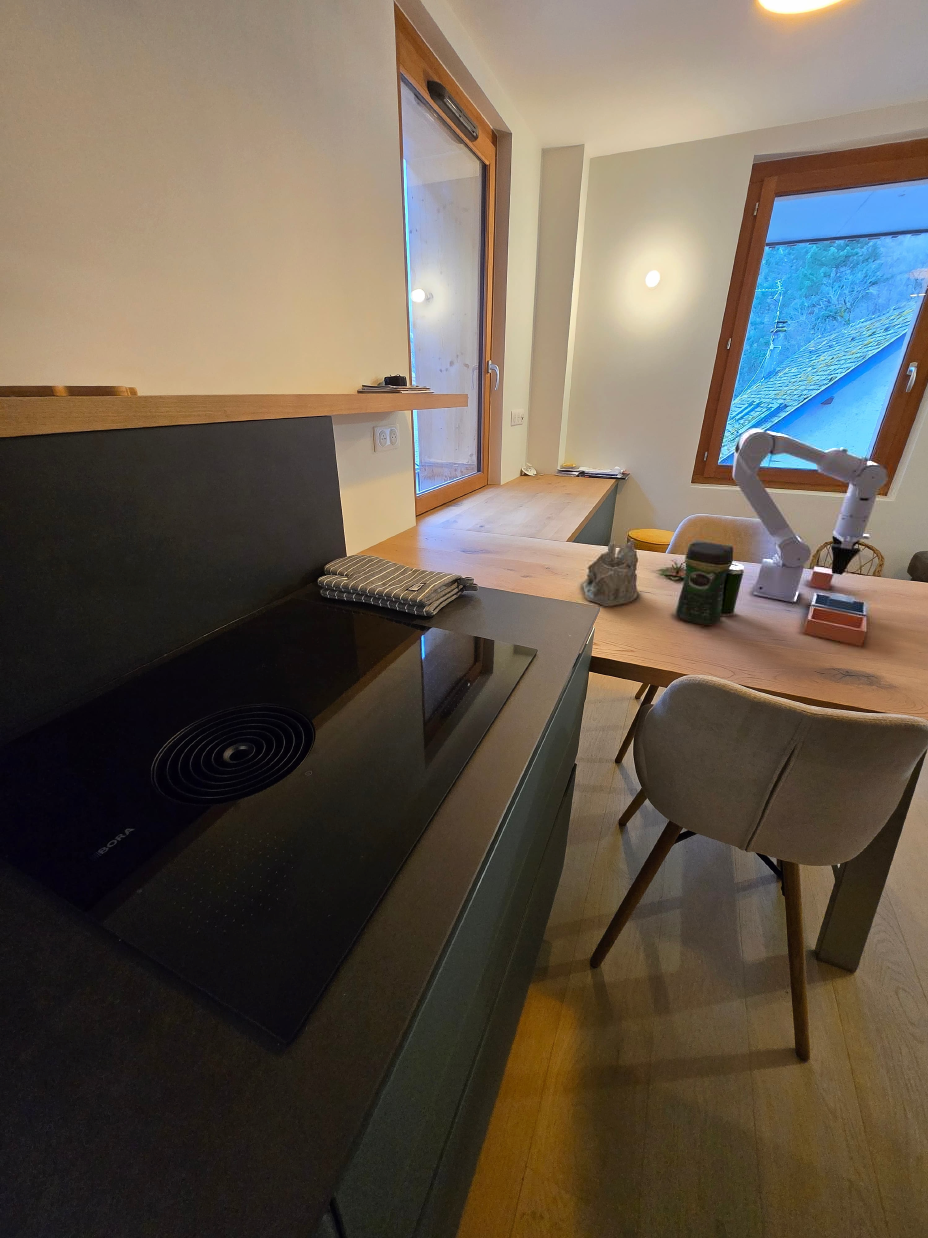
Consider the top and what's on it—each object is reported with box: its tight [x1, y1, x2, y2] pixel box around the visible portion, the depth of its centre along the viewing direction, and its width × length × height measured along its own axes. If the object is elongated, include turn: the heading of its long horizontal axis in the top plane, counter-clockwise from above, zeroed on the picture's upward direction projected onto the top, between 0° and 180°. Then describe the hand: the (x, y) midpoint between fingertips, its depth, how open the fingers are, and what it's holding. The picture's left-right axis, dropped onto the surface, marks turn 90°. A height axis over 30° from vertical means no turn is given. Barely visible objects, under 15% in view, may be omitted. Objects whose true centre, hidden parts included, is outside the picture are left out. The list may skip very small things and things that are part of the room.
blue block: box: [826, 591, 855, 611], centre depth 116 cm, size 4×4×4 cm
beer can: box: [720, 562, 744, 617], centre depth 118 cm, size 5×5×12 cm
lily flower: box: [656, 558, 686, 581], centre depth 143 cm, size 12×12×5 cm
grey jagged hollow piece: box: [582, 538, 639, 607], centre depth 130 cm, size 16×16×15 cm
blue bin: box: [807, 592, 868, 617], centre depth 117 cm, size 10×9×4 cm
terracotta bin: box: [803, 605, 868, 647], centre depth 109 cm, size 10×9×4 cm
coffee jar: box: [675, 540, 734, 626], centre depth 114 cm, size 10×8×19 cm
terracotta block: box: [808, 566, 835, 591], centre depth 134 cm, size 4×4×4 cm
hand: (837, 569), depth 123 cm, fingers open, 7 cm apart
